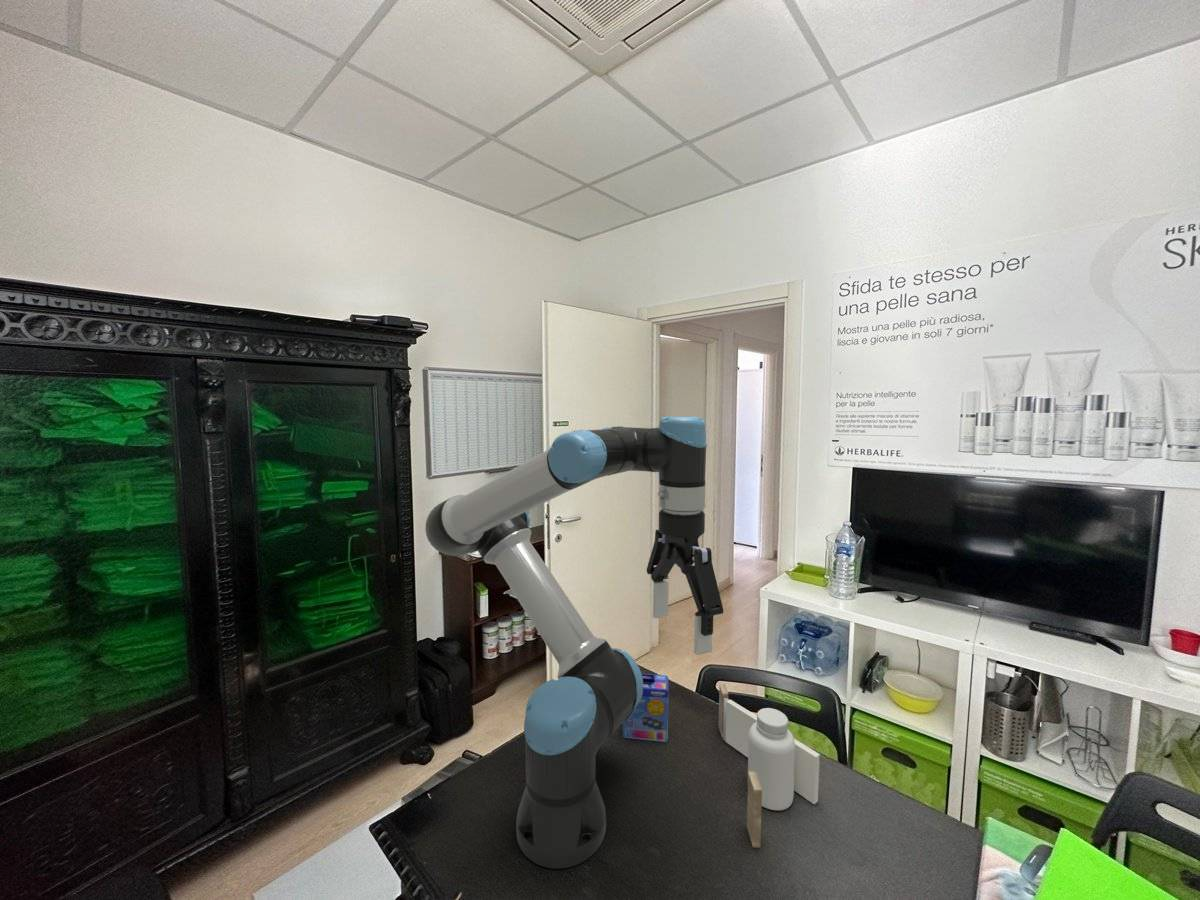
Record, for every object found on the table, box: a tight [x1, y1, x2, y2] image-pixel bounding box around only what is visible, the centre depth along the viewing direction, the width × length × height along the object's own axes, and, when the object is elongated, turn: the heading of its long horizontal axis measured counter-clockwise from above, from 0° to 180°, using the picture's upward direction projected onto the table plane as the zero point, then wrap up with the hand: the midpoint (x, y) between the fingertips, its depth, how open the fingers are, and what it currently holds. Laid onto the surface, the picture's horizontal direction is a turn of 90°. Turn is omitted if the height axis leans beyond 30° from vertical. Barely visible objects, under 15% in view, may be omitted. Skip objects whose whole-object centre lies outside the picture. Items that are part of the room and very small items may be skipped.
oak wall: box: [718, 683, 763, 849], centre depth 90 cm, size 1×29×10 cm, turn 177°
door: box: [722, 697, 821, 805], centre depth 92 cm, size 1×21×9 cm, turn 36°
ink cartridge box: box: [622, 673, 670, 743], centre depth 102 cm, size 10×6×14 cm, turn 83°
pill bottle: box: [747, 707, 795, 811], centre depth 86 cm, size 8×8×15 cm
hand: (680, 633), depth 79 cm, fingers open, 13 cm apart
